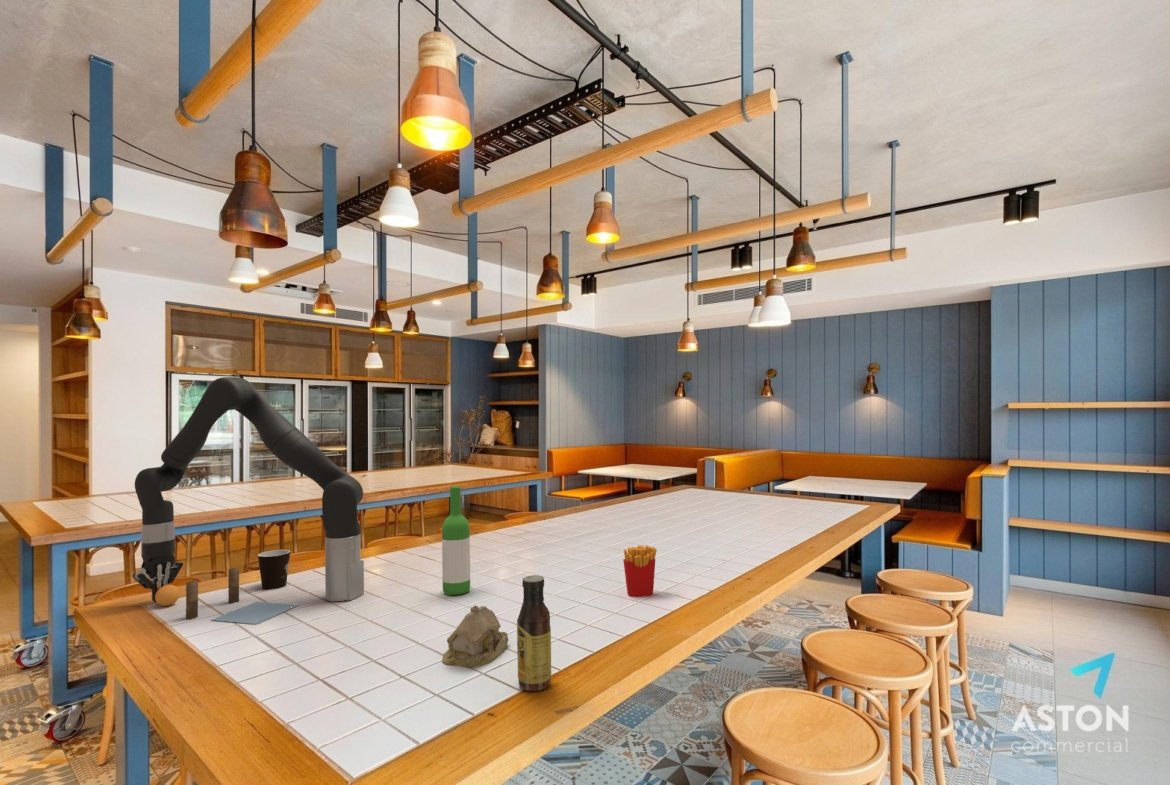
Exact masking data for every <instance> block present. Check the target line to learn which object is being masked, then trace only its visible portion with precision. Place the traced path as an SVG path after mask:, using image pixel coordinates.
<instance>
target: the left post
mask: <svg viewBox="0 0 1170 785" xmlns="http://www.w3.org/2000/svg"><path fill="white" fill-rule="evenodd" d="M185 587H186V588H185V590H186V591H185V619H186V620H193V619H192V618H194V619H197V618H199V615H198V614H199V580H190V581H187V582H186V584H185ZM196 617H197V618H196Z"/></svg>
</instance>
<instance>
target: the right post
mask: <svg viewBox="0 0 1170 785" xmlns="http://www.w3.org/2000/svg"><path fill="white" fill-rule="evenodd" d="M227 575H228V594H227V596H228V597H227V598H228V599H227V601H228V602H229V603H228V602H227V603H228V604H235V603H234V602H236V603H238V602H239V601H240V568H239V567H233V568H232V567H231V568H229V569H228V574H227Z"/></svg>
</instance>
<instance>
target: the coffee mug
mask: <svg viewBox="0 0 1170 785" xmlns="http://www.w3.org/2000/svg"><path fill="white" fill-rule="evenodd" d="M290 557H291V550H290V549H275V550H268V551H264V552H263V551H262V552H261V553H258V554H257V559H258V566H259V574H260V580H261V588H262V590H267V591H268V590H278V589H281V588H283V587H287V580H288V572H289V564H290V559H291V558H290Z"/></svg>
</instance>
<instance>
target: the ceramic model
mask: <svg viewBox="0 0 1170 785" xmlns="http://www.w3.org/2000/svg"><path fill="white" fill-rule="evenodd" d="M500 628H501V623H500V622H499V620H498V618H497V615H496V614H495V612H494V611H493V610H491V609H489V608H488V607H487V606H485V605H482V606H481V605H480V606H478V605H474V606H471V607H470V612H468V613H466V614H465V615H464V618H463V619H462V620H461V621H460V623H459V624H458V625H457V627H456V628H455V629H454V631H453V632H452V633H451V634H450V636H449V637H447V639H446V642H447V644H448V649H447V651H445V652H444V653H443V654H442V659H441V662H442V663H443V664H444V665H446V666H448V665H449V666H458V667H459V666H461V667H465V668H473V667H474V668H475V667H479V666H483V665H486V664H489V663H491V662H493V661H494V660H495V659H496V658H498V657H499V656H500V655H501V654H502V653H503V652H504V651H505V650H506V647H507V646H508V645H507V644H508V642H509V637H508V635H509V634H508V632H506V631H499V630H500Z"/></svg>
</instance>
